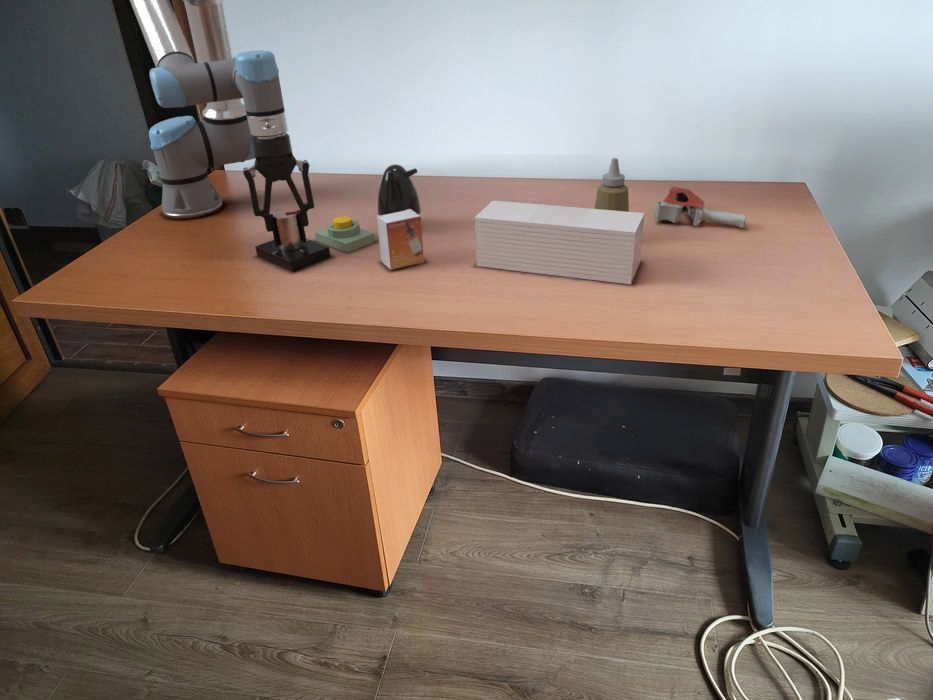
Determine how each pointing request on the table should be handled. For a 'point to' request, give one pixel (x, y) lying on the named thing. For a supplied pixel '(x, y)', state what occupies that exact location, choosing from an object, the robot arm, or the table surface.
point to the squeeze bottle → (613, 190)
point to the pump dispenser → (397, 191)
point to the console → (293, 255)
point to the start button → (342, 222)
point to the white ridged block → (560, 240)
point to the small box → (400, 239)
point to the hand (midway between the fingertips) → (290, 242)
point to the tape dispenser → (692, 209)
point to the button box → (345, 237)
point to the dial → (288, 230)
